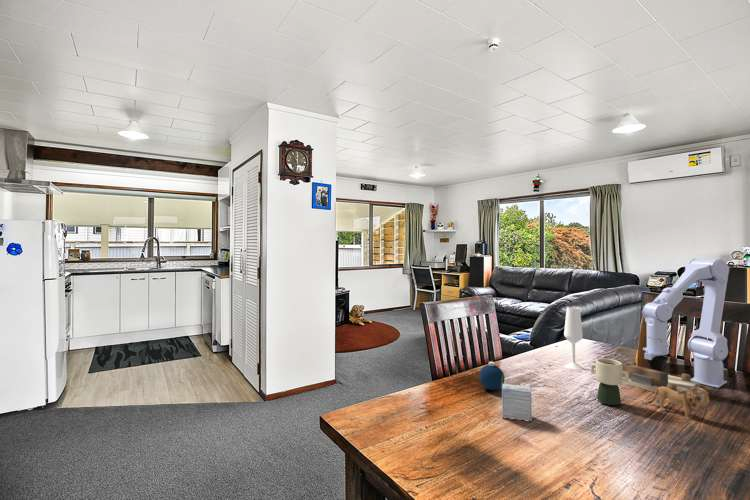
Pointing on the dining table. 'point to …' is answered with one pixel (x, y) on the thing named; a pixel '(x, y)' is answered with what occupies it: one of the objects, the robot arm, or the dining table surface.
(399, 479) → the dining table surface
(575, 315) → the champagne flute
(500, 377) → the christmas ornament
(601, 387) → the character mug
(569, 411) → the dining table surface
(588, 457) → the dining table surface
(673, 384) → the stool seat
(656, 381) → the wooden board
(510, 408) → the medicine box
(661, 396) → the lion figurine
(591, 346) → the dining table surface
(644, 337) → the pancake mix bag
